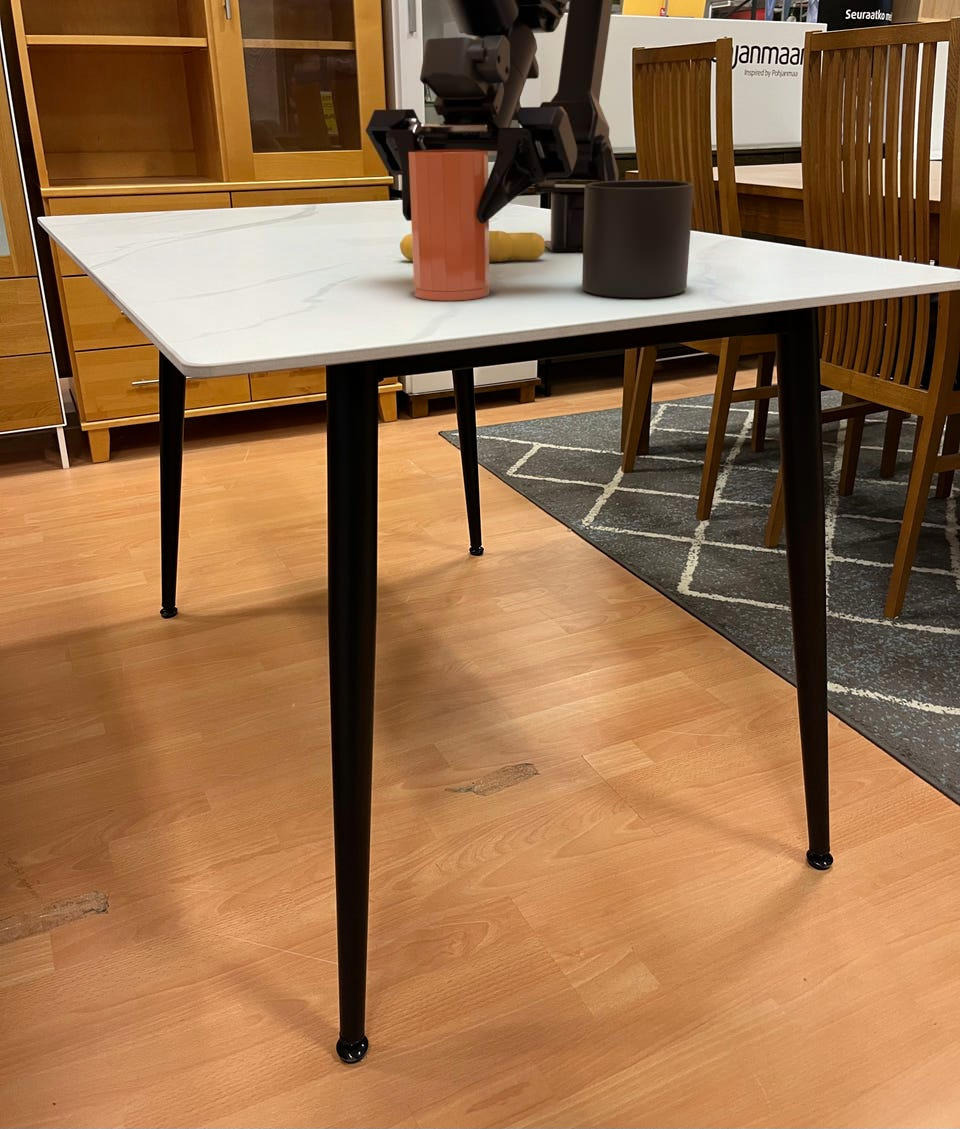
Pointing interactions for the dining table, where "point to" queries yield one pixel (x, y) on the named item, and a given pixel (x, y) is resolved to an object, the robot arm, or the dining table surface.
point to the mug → (636, 238)
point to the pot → (449, 224)
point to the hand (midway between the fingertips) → (442, 218)
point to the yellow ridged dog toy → (499, 246)
